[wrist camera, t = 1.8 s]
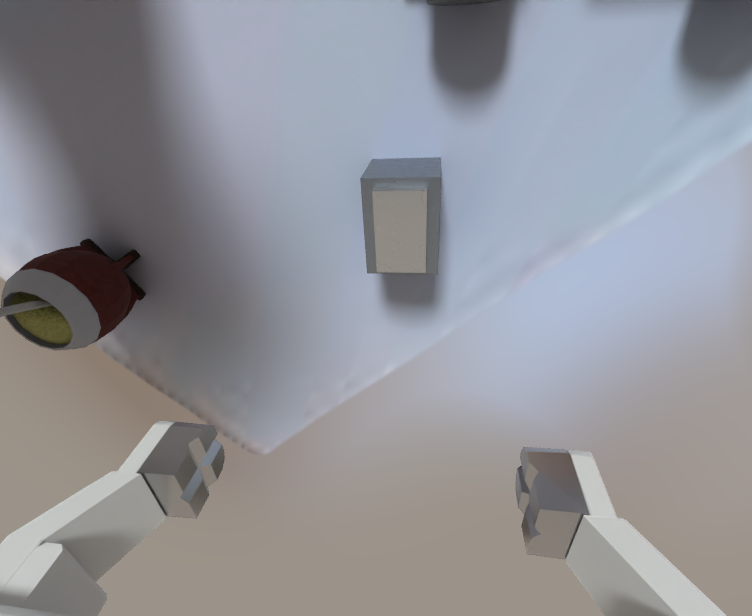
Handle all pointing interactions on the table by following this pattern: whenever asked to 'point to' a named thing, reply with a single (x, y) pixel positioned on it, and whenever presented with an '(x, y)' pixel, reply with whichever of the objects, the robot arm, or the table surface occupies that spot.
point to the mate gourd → (70, 296)
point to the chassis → (457, 2)
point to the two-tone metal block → (402, 215)
